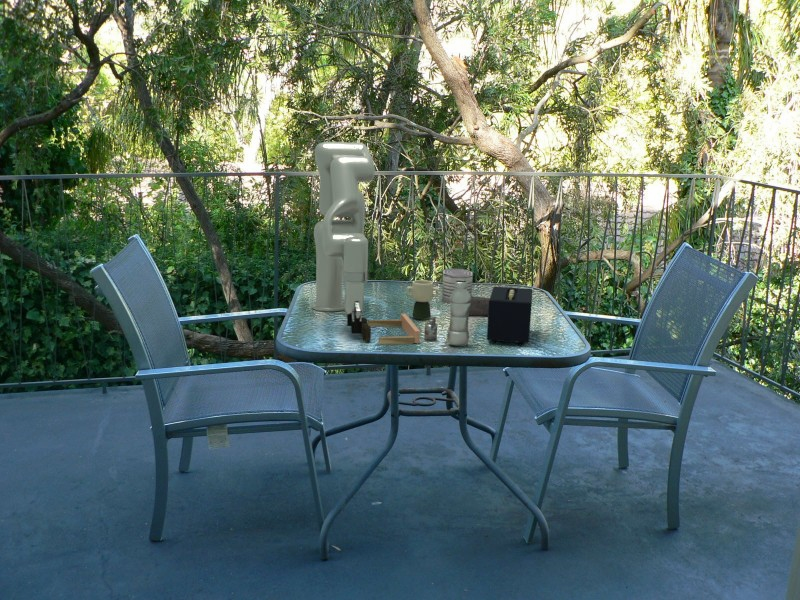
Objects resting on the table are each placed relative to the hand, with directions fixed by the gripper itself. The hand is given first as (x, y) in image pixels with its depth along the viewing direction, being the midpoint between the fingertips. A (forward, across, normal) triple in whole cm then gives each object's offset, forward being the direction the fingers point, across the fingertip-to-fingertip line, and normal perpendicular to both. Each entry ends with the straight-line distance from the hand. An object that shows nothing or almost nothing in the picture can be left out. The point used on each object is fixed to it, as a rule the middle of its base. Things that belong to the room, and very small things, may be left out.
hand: (354, 329), depth 264 cm
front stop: (+2, 0, +18) cm, 18 cm away
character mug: (+2, -20, +26) cm, 33 cm away
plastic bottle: (+2, +14, +30) cm, 33 cm away
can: (+2, -45, +45) cm, 64 cm away
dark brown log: (+2, 0, +4) cm, 4 cm away
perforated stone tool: (+2, -24, +48) cm, 54 cm away
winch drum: (+2, +7, +23) cm, 24 cm away
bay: (+2, 0, +12) cm, 12 cm away
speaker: (+2, +6, +49) cm, 50 cm away
